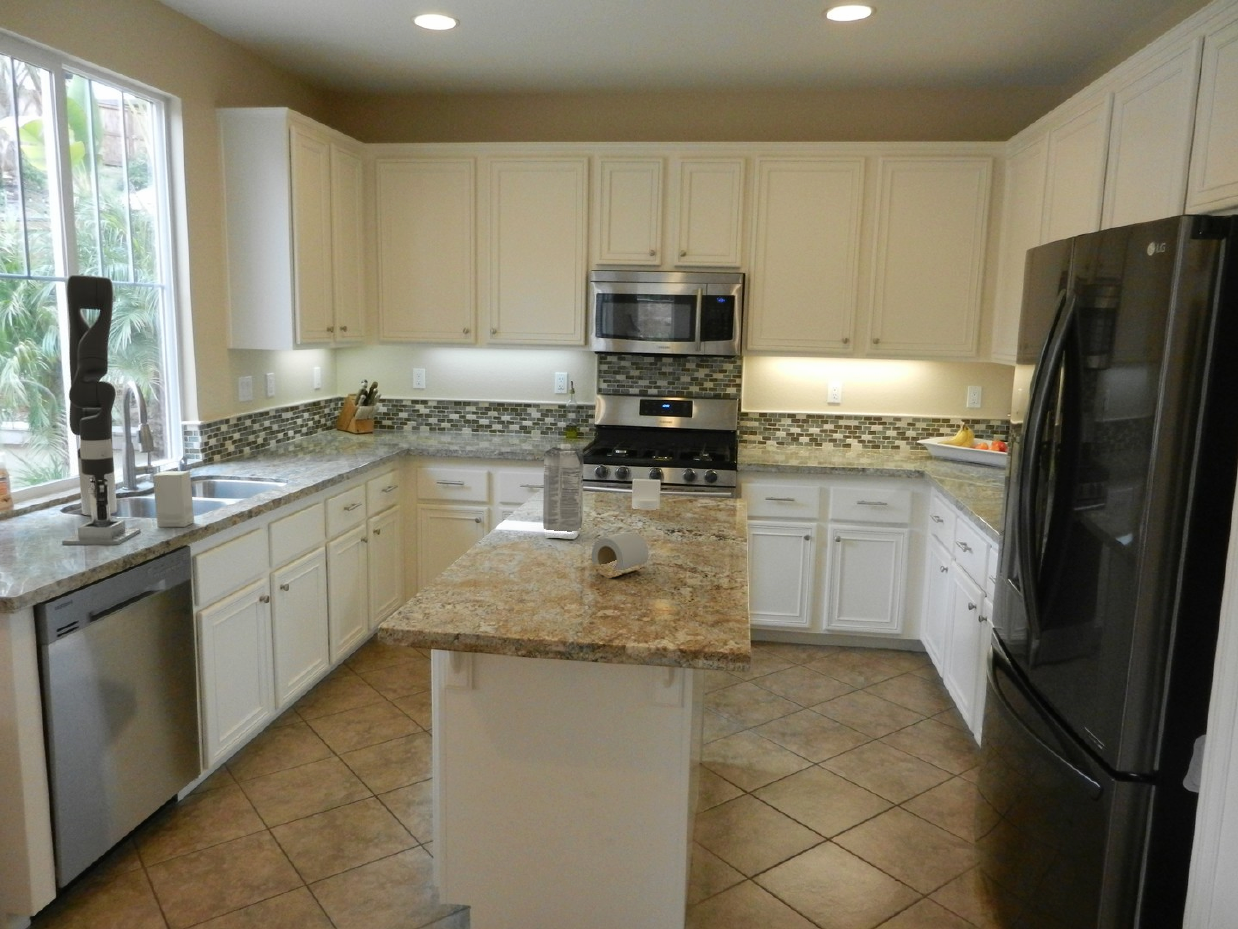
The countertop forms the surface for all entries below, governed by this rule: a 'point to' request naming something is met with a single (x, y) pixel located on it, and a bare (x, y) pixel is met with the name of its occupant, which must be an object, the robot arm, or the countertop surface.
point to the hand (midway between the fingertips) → (101, 517)
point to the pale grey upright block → (94, 511)
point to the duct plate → (101, 534)
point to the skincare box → (173, 498)
